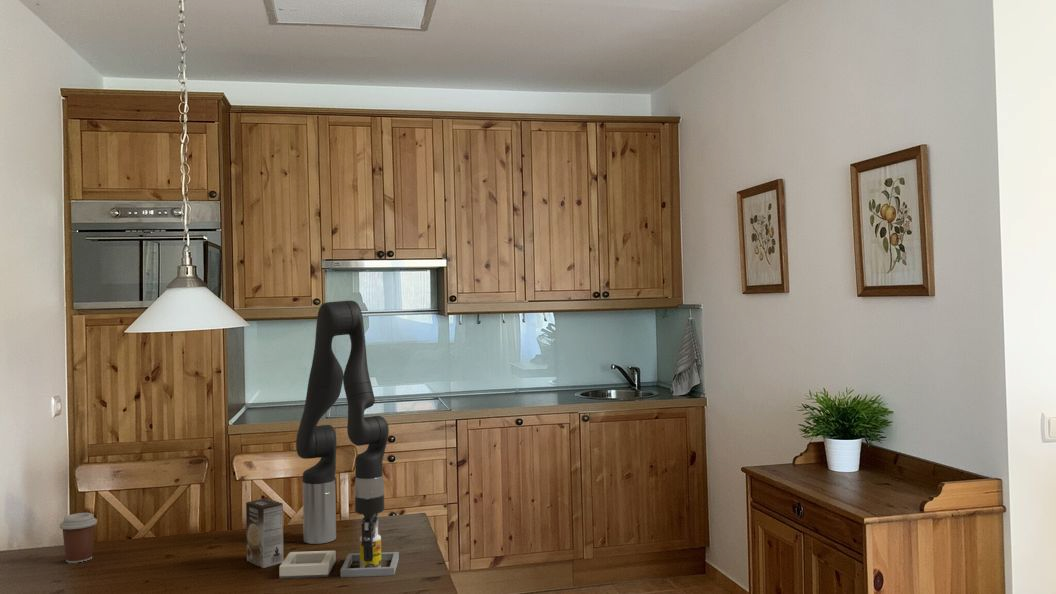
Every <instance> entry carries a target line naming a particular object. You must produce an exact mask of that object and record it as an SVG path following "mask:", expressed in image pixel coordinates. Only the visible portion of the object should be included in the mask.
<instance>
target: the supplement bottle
mask: <svg viewBox="0 0 1056 594" xmlns="http://www.w3.org/2000/svg"><path fill="white" fill-rule="evenodd" d="M366 541H370V538H366ZM358 543H359V553H360V561H359V568H371V567H382V561H381V553H382V537H381V534H379V527H378V528H377V527H376V534H375V538H373V560H372V561H364V547H363V546H362V545H361V543H362V535H361V536H359V542H358Z"/></svg>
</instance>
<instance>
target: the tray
mask: <svg viewBox="0 0 1056 594" xmlns="http://www.w3.org/2000/svg"><path fill="white" fill-rule="evenodd" d="M399 558H400V552H399V551H391V552H390V551H389V552H382V551H381V562H382V561H391V562H390V565H389V566H381V567H371V568H360V567H353V568H352V567H351V566H352V564H353V562H354V563H355V562H360V552H358V553H348V554H347V556H346V558H345V560H344V562H343V564H342V566H341V568H340V578H357V577H358V578H359V577H360V578H361V577H379V576H380V577H381V576H382V577H384V576H395V573H396V569H397V567H398V564H399V563H398V562H399V561H400V560H399Z"/></svg>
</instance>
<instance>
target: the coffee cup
mask: <svg viewBox="0 0 1056 594" xmlns="http://www.w3.org/2000/svg"><path fill="white" fill-rule="evenodd" d="M97 524H98V519H97V518H96V517H94V515H93V513H91V512H79V513H73V514H68V515H66V516H64V517H63V520H62V522H61V523H59V529H61V530H62V535H63V546H64V555H65V563H66V562H68V563H67V564H71V563H73V564H79V563H78V562H82V563H84V562H83V561H86V562H88V561H87V560H89V561H91V560H93V553H94V552H93V550H94V536H95V525H97ZM90 559H91V560H90Z"/></svg>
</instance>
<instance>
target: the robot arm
mask: <svg viewBox="0 0 1056 594" xmlns="http://www.w3.org/2000/svg"><path fill="white" fill-rule="evenodd" d="M316 317H317V318H316V326H315V338H314V339H315V341H314V350H313V356H312V361H311V367H310V372H309V376H308V377H309V378H308V381H307V382H308V383H307V389H306V397H305V402H304V408H303V412H302V415H301V416H302V417H301V420H300V422H299V427H298V430H297V435H296V441H295V446H296V447H295V449H296V453H297V455H298V457H299V458H301V459H304V460H309V459H311V460H312V459H317V458H319V460H318V462H317V463H316V464H314V465H313V466H312V467H310V468H307V469H306V470H304V471H303V473H302V514H303V515H302V520H303V521H302V524H303V527H302V529H303V532H302V533H303V542H304V543H306V544H311V545H313V544H314V545H315V544H317V545H320V544H327V543H331V542H333V541H335V540H337V517H336V516H337V515H336V511H337V510H336V509H337V508H336V503H337V502H336V469H337V463H336V462H337V433H336V430H335V428H334V426H332V425H331V424H323V425H322V424H321V425H318V423H319V421H320V420H321V418H322V417H323V416H324V415H325V414H326V413H327V412H328V411H329V410H330V409H331V408H332V407H333V405H335V403H336V401H338V400H339V397H340V394H341V392H342V386H343V388H344V393H345V397H346V401H347V424H346V425H347V427H346V428H347V429H346V431H347V436H348V439H349V440H350V442H351V443H352V444H353V445H355V446H358V447H359V446H366V445H368V446H367V448H366V450H365V451H363V452H361V453H358V454H357V456H356V457H355V462H354V463H355V464H354V465H355V466H354V467H355V468H354V470H355V475H354V476H355V477H354V479H355V480H354V511H355V513H356V514H358V515H362V516H363V518H362V520H361V521H360V522H361V524H360V525H361V536H362V543H361V545H362V546H363V547H364V561H372V560H373V538H375V534H376V527H377V528H378V529H379V517H378V516H379V514H380V513H383V512H384V510H385V484H384V482H385V481H384V473H383V471H384V470H383V469H384V467H383V466H384V465H383V464H384V463H383V461H384V460H383V459H384V454H385V451H386V446H387V443H388V438H389V433H390V431H389V430H390V429H389V428H390V427H389V423H388V422H387V420H386V419H385V418H384V416H381V415H372V416H371V415H370V416H366V417H364V416H365V414H364V412H365V410H367V409H369V408H371V407H373V406H374V404H375V402H376V398H375V395H374V390H373V386H372V382H371V381H372V380H371V378H370V374H369V368H368V359H367V357H368V356H367V347H366V336H365V326H364V318H363V313H362V310H361V307H360V305H359V303H358V302H356V300H355V301H354V300H340V301H339V300H338V301H328V302H324V303H322V304H321V305H320V307H319V309H318V312H317V315H316ZM347 335H349V339H350V352H349V355H348V356H349V357H348V359H347V363H346V365H345V369H344V370H343V368H342V366H341V364H340V362H339V361H338V359H337V356H336V355H335V354H334V351H333V347H332V346H333V339H334V338H335V337H336V336H337V337H338V336H347ZM366 538H370V541H366Z"/></svg>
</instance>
